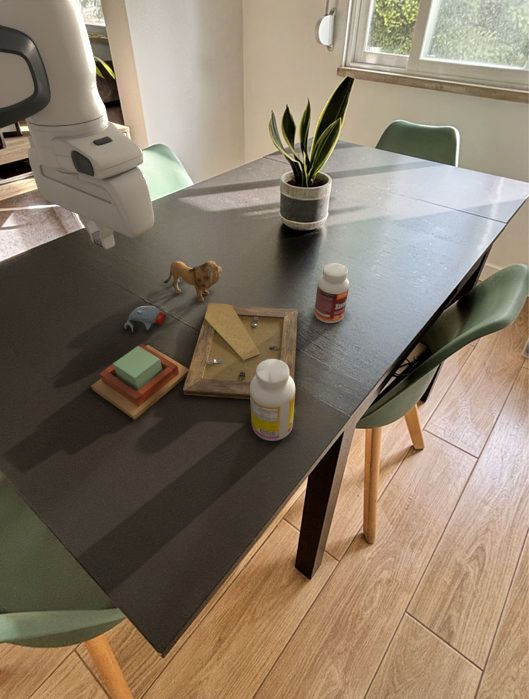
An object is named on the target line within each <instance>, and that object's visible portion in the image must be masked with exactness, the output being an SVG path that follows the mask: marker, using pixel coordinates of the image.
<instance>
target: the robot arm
mask: <svg viewBox="0 0 529 699" xmlns="http://www.w3.org/2000/svg"><path fill="white" fill-rule="evenodd" d="M24 120H25V123H26V125H27V128H28V131H29V135H28V136H27V139H28V143H29V146H30V147H29V148H28V149H27V156H28V157H27V158H28V161H29V165H30V168H31V171H32V172H31V173H32V176H33V178H34V181H35V185H36V188H37V190H38V192H39V194H40V195H41V197H42V198H43V199H44V200H45V201H48V202H49V203H51V204H54V205H56V206H59V207H61V208H63V209H65V210H67V211H70V212H71V213H74V214H76V215H78V218H79V221H80V222H81V223H82V226H84V228H85V229H86V231H87V233H88V234H89V237H90V241H91V242H92V244H94V245H97V246H99V247H101V248H103V249H105V250H109V249H111V248H113V247H115V245H116V241H115V237H114V233H115V232H116V233H119V234H121V235H123V236H125V237H127V238H129V239H135V238H137V237H139V236H142V235H143V234H146V233H147V232H149V231H151V229H152V228H153V226H154V224H155V214H154V208H153V203H152V202H153V201H152V198H151V194H150V192H151V191H150V189H149V188H150V187H149V184H148V180H147V178H146V176H145V174H144V172H143V171H142V169H141V168H139V166H140V165H142V164H143V163H144V155H143V150H142V149H141V147H140V145H139V144H137V143H136V142H135V141H134V140H132V139H131V138H129V137H128V136H127V135H126V134H124V132H122V131H121V130H120V129H118V127H117V126H116V125H115V124H114V123H113V122H111V121H109V118H108V113H107V109H106V105H105V104H104V102H103V100H102V98H101V96H100V93H99V89H98V86H97V66H96V62H95V58H94V53H93V49H92V46H91V40H90V37H89V33H88V30H87V26H86V24H85V20H84V17H83V13H82V11H81V8H80V5H79V2H78V0H0V130H1V129H4V128H6V127H9V126H12V125H14V124H17V123H19V122H21V121H24Z"/></svg>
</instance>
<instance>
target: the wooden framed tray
mask: <svg viewBox="0 0 529 699" xmlns="http://www.w3.org/2000/svg"><path fill="white" fill-rule="evenodd" d="M138 346H139V347H140V348H142V349H144V350H145V351H147V352H149V353H150V354H152V355H154V356H155V357H157V358H159V359H160V363H161V367H162V372H161V373H160V374H158V375H157V376H156V377H155V378H153V379H152V380H151V381H150V382H148V383H147V384H146V385H144V386H143V387H142V388H141V389H139V390H138V391H136V390H134V389H133V388H131V387H130V386H128V385H127V384H125V383H124V382H122V381H121V380H119V379H118V377H117V374H116V371H115V368H114V366H113V363H112V364H110V365H109V366H108V367H107V368H105V369H103V371H101V372H99V377H100V378H99V379H98V380H97V381H95V382H94V383H92V384H91V385H90V387H91V389H92V391H94V392H95V393H97V394H98V395H99V396H101V397H102V398H103V399H104V400H106V401H108V402H109V403H110V404H112V405H113V406H115V407H116V408H117V409H119V410H120V411H121V412H123V413H124V414H126V415H127V416H128V417H130V418H132V419H133V420H136V419H138V418H139V417H140V416H141V415H142V414H144V413H145V412H146V411H147V410H149V408H151V407H152V406H153V405H155V404H156V403H157V402H158V401H159V400H160V399H162V398H163V397H164V396H165V395H167V394H168V393H169V392H170V391H171V390H173V388H175V387H176V386H177V385H178V384H179V383H181V382H182V381H183V380H185V379H186V378H187V375H188V371H189V368H188V367H186V366H184V365H182V364H180V363H179V362H178V361H177V360H174V359H173V358H171V357H169V356H167V355H166V354H164V353H163V352H161V351H159V350H157V349H156V348H154V347H153V346H151V345H149V344H147V345H144V344H142V343H140V344H139V345H138Z"/></svg>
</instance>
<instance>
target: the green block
mask: <svg viewBox="0 0 529 699" xmlns="http://www.w3.org/2000/svg"><path fill="white" fill-rule="evenodd" d="M112 364H113V366H114V368H115V371H116V374H117V377H118V379H119V380H121V381H122V382H124V383H125V384H127V385H128V386H130V387H131V388H133V389H134V390H136V391H138V390H139V389H141V388H142V387H143V386H144V385H146V384H147V383H148V382H150V381H151V380H152V379H153V378H155V377H156V376H157V375H158V374H160V373H161V372H162V367H161V363H160V359H159V358H157V357H155V356H154V355H152V354H150V353H149V352H147V351H145V350H144V349H142V348H140V347H139V345H137V346H135V347H134V348H133V349H131V350H130V351H129V352H127V353H126V354H124V355H123V356H122V357H120V358H119V359H118V360H116V361H114V362H113V363H112Z"/></svg>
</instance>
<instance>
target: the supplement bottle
mask: <svg viewBox="0 0 529 699" xmlns="http://www.w3.org/2000/svg"><path fill="white" fill-rule="evenodd" d="M295 399H296V383H295V380H294V381H293V379H292V378H291V377H290V376H289V368H288V366H287V365H286V364H285V363H284V362H283V361H280V360H277V359H268V360H265V361H262V362H261V363H260V364H259V365H258V366H257V369H256V376H255V377H254V378H253V379H252V381H251V384H250V399H249V400H250V418H251V419H250V420H251V421H250V422H251V427H252V431H253V432H254V433H255V435H256V436H258V437H259V438H260V439H262V440H264V441H268V442H269V441H270V442H276V441H281V440H283V439H284V438H286V437H287V436H288V435H290V433H291V431H292V429H293V427H294V416H295Z"/></svg>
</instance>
